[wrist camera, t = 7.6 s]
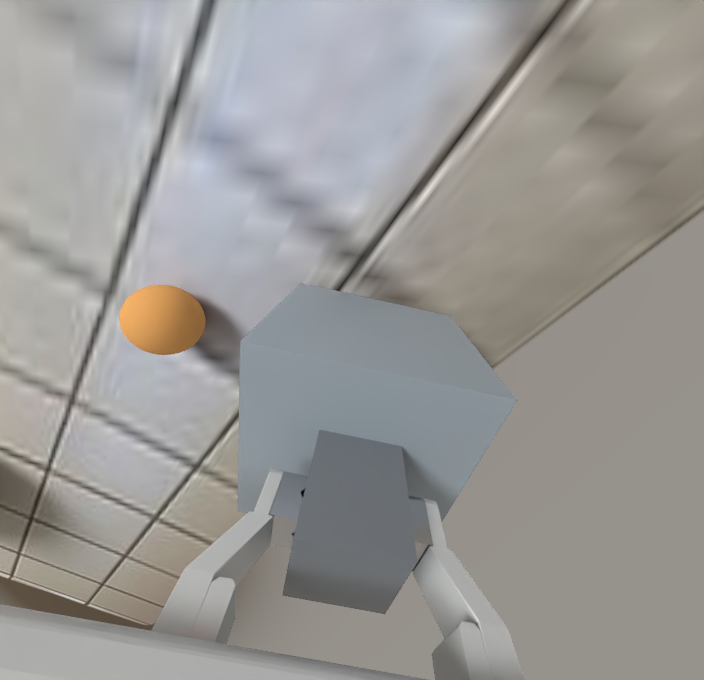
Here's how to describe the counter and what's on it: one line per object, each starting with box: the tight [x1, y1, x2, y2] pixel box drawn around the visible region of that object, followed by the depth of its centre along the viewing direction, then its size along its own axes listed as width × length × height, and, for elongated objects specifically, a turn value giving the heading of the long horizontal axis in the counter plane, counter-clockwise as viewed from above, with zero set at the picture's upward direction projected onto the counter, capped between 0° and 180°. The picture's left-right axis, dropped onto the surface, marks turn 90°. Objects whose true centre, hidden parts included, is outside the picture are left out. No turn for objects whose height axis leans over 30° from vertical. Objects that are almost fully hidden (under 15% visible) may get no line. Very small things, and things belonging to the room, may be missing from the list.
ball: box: [119, 285, 206, 355], centre depth 19 cm, size 5×5×5 cm
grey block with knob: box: [238, 283, 517, 614], centre depth 14 cm, size 10×10×13 cm
